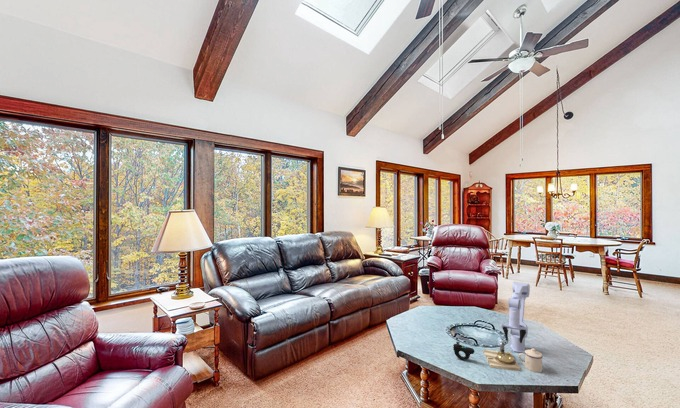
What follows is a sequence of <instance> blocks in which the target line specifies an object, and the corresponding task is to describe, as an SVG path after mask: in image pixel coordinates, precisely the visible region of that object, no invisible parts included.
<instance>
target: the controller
mask: <svg viewBox="0 0 680 408" xmlns="http://www.w3.org/2000/svg"><path fill="white" fill-rule="evenodd" d="M460 343H461V342H460V341H456V343H454V344H453V347H452V350H453V352H454V356H456V358H458V359H459V360H461V361H467V360H468V359H470V357H471V355H473V354H475V349H474V348H473V347H468V346H465V345H462V344H460ZM460 352H462V353H464V355H465V356H462V355H461V354H460Z"/></svg>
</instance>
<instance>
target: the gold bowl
mask: <svg viewBox="0 0 680 408" xmlns="http://www.w3.org/2000/svg"><path fill="white" fill-rule="evenodd" d="M497 351H498V353H497V359H498V360H499V361H500V362H503V363H507V364H511V363H513V362H514V359H515V358H514V355H513V354H512V353H511V354H512V355H511V354H510V353H509V352H510V351H505V342H504V341H500V342H499V350H497ZM506 352H507V353H506Z"/></svg>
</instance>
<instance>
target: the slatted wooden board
mask: <svg viewBox="0 0 680 408" xmlns="http://www.w3.org/2000/svg"><path fill="white" fill-rule="evenodd" d="M498 351H499V350H491V349H483V353H484V356H485V358H486V361H487V363H488V365H489V368H490V369H491V368H493V369H502V370H508V371H516V372H517V371H518V372H521V367H520V365H519V364H518V362H517V360H516V359H515V358H514V362H513V363H511V364H507V363H503V362H500V361H499V360H498V359H497V353H498ZM505 352H506V353H507V352H509V353H510V354H511V355H513V353H511V352H510V351H505Z"/></svg>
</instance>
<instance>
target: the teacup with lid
mask: <svg viewBox="0 0 680 408" xmlns="http://www.w3.org/2000/svg"><path fill="white" fill-rule="evenodd" d="M521 356H524V360H523V359H522V358H521ZM543 356H544V355H543V353H542V352H540V351H538V350H536V348H534V347H532V348H531V349H525V352H524V353H522V352H519V354H518V358H519V360H520V362H522V363H524V367H525V369H527V370H529V372H533V373H541V372H542V371H543Z"/></svg>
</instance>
